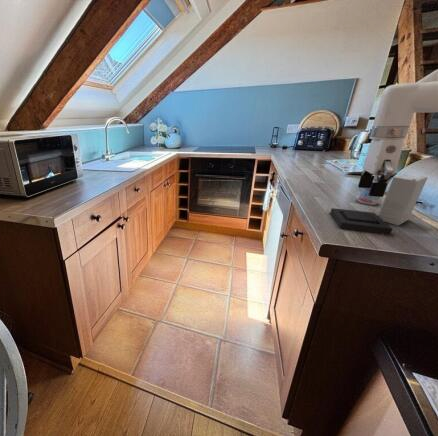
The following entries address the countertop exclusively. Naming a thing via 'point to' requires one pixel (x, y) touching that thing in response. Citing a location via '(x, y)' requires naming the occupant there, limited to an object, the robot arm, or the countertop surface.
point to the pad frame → (360, 226)
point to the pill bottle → (366, 198)
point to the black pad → (358, 217)
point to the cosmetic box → (401, 198)
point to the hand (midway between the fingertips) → (369, 191)
